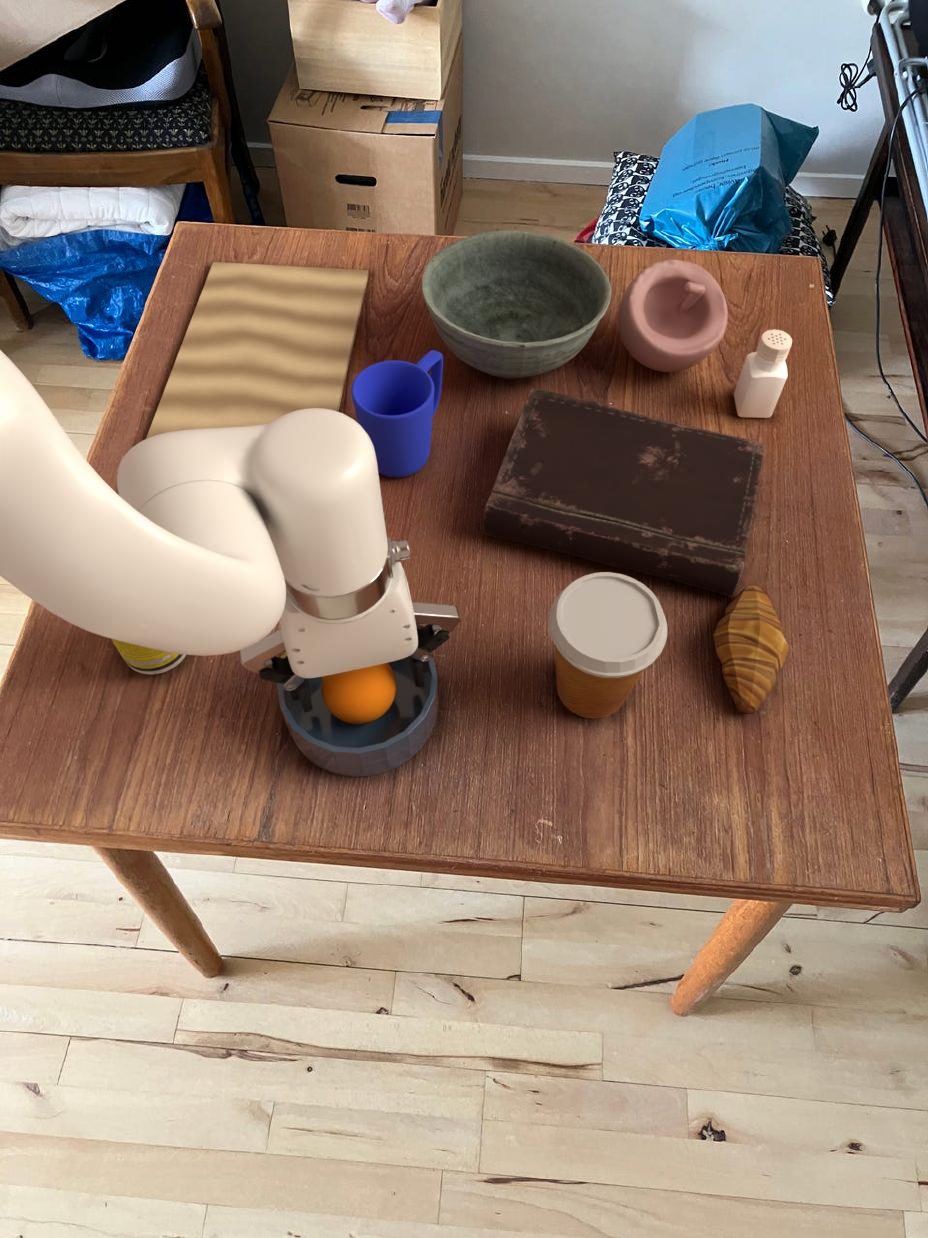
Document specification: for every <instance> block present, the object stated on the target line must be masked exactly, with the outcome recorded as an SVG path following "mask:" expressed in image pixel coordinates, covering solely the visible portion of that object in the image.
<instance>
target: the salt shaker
mask: <svg viewBox="0 0 928 1238" xmlns="http://www.w3.org/2000/svg"><path fill="white" fill-rule="evenodd" d="M792 344H793V339H792V337H791V335H790V334H789V333H787V332H785V331H784V330H780V329H776V328H775V329H767V330H766V331H764V332H763V333H762V334H761V336H760V340H759V341H758V345H757V348H756V351H754V352H750V353H748V354H747V355H746V357H745V359H744V363H743V366H742V369H741V372H740V374H739V377H738V379H737V383H736V387H735V389H734V392H733V398H734V403H735V409H736V414H737V416H738V417H740V418H753V419H755V418H756V419H768V418H771V417H772V416H773V414H774V412H775V409H776V406H777V404H778V401H779V398H780V396H781V394H782V391H783V389H784V386H785V385H786V381H787V379H788V374H789V373H788V367H787V363H786V360H787V358H788V356H789V353H790V350H791V347H792V346H793V345H792Z"/></svg>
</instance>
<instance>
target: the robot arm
mask: <svg viewBox="0 0 928 1238" xmlns="http://www.w3.org/2000/svg"><path fill="white" fill-rule="evenodd" d="M379 474H380V473H379V472H378V466H377V459H376V454H375V450H374V446H373V444H372V441H371V439H370V437H369V436H368V434H367V433H366V432H365V430H364V429H363V428H362V427H361V425H360V424H358V421H356V420H355V419H353V418H352V417H350V416H348V415H347V414H345V413H343V412H340V411H338V412H337V411H334V410H329V409H323V408H309V409H302V410H297V411H293V412H290V413H287V414H285V415H283V416H281V417H279V418H277V419H275V420H274V421H272V422H271V423H269V424H263V425H253V426H244V427H227V428H210V429H192V430H181V431H173V432H168V433H163V434H159V435H155V436H153V437H150V438H148V439H146V438H145V439H143V440H141V441H139V442H138V443H137V444H135V445H133V446H132V447H130V449H129V450H128V451H127V452H126V453H125V454H124V455H123V457H122V459H121V461H120V463H119V465H118V468H117V474H116V486H117V492H116V491H115V490H114V489H113V488H112V487H111V486H110V485H109V484H108V483H107V482H106V481H105V480H104V479H103V478H102V477H101V476H100V475H99V474H98V472H97V471H96V470H95V469H94V468H93V467H92V466H91V464H89V462H88V460H86V458H85V457H84V456H83V455H82V453H81V452H80V450H79V449H78V448H77V447H76V445H75V444H74V443H73V441H72V440H71V438H70V436H69V435H68V434H67V433H66V431H65V430H64V428H63V427H62V425H61V424H60V422H59V420H57V418H56V416H55V415H54V414H53V412H52V411H51V409H50V408H49V407H48V405H47V404H46V401H44V399H43V398H42V396H41V395H40V394H39V393H38V391H37V390H36V388H35V387H34V386H33V384H32V383H31V382H30V380H28V378H27V377H26V376H25V375H24V374H23V372H22V371H21V370H20V369H19V368H18V367H17V366H16V364H15V363H14V362H13V361H12V360H11V359H10V357H8V356H7V355H6V354H5V353H4V352H3V351H2V350H1V349H0V577H1V578H2V579H4V580H5V581H6V582H7V583H9V584H10V585H12V586H13V587H14V588H16V589H17V590H19V591H20V592H21V593H22V594H24V595H26V596H27V597H28V598H29V599H30V600H32V601H34V602H35V603H36V604H38V605H40V606H41V607H43V608H44V609H45V610H47V611H48V612H49V613H52V614H53V615H55V616H56V617H59V618H60V619H62V620H63V621H66V623H67V622H68V623H69V624H71V625H73V626H76V627H78V628H80V629H82V630H84V631H86V632H89V633H92V634H95V635H98V636H101V637H104V638H106V639H110V640H111V639H115V640H118V641H122V642H126V643H131V644H135V645H139V646H143V647H147V648H151V649H156V650H161V651H165V652H170V653H178V654H184V655H186V656H201V657H206V656H221V655H227V654H232V653H235V652H239V657H240V666H241V668H243V669H245V670H247V671H249V672H251V673H253V674H258V675H259V679H261V680H263V681H267V682H273V683H277V684H278V683H281V684H283V689H284V690H287V691H290V694H291V696H292V699H293V701H295V700H300V701H301V703H302V706H303V709H304V712H310V711H311V709H313V707H312V701H311V695H310V689H309V683H308V679H307V678H316V677H322V676H327V675H332V674H337V673H342V672H347V671H352V670H356V669H361V668H366V667H370V666H375V665H379V664H384V663H388V662H392V661H396V660H400V659H403V658H406V657H409V660H410V665H411V669H412V673H413V677H414V681H415V685H416V686H418V687H424V677H423V673H424V672H429V671H430V666H429V660H431V659H432V658H433V659H434V653H433V652H435V651H436V650H437V649H438V648H439V647H441V646H442V645H444V644H445V643H446V642H448V641H449V639H450V633H451V632H454V630H455V629H456V627H457V626H458V625H459V624H460V622H461V616H460V613H459V608H458V607H457V605H455V604H443V603H433V602H420V601H412V596H411V592H410V587H409V583H408V578H407V575H406V572H405V569H404V567H403V564H402V561H404V560H407V559H411V549H410V545H409V542H408V539H402V540H397V539H394V540H392V539H391V537H388V535H387V529H386V528H387V527H386V522H385V521H386V520H385V513H384V506H383V498H382V489H381V481H380V476H379ZM278 623H279V629H278V630H275V631H274V629H275V628H276V626H277V625H278ZM423 625H424V626H423ZM272 631H273V632H272ZM279 655H280V656H279Z"/></svg>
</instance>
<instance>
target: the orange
mask: <svg viewBox="0 0 928 1238" xmlns="http://www.w3.org/2000/svg"><path fill="white" fill-rule="evenodd" d="M321 692H322V697H323V700H324V702H325V705H326V706H327V708H328V709H329V710H330V712H331V713H332V714H333V715H334V716H336V717H337V718H339V719H340V720H342V721H344V722H347V723H352V724H365V723H369V722H372V721H374V720H376V719H378V718H380V717H381V716H382V715H383V714H385V713H386V711H387V710H388V709H389V708H390V706H391V704H392V702H393V700H394V697H395V693H396V680H395V676H394V673H393V671H392V669H391V667H390V665H389V664H388V663H384V664H379V665H375V666H370V667H366V668H361V669H356V670H352V671H347V672H342V673H337V674H332V675H327V676H323V677H322V682H321Z"/></svg>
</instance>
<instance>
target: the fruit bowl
mask: <svg viewBox="0 0 928 1238" xmlns="http://www.w3.org/2000/svg"><path fill="white" fill-rule="evenodd" d="M388 664H389V665H390V667H391V669H392V671H393V673H394V676H395V680H396V693H395V697H394V700H393V702H392V704H391V706H390V708H389V709H388V710H387V711H386V713H385V714H383V715H382V716H381V717H380V718H378V719H376V720H374V721H372V722H369V723H365V724H352V723H347V722H344V721H342V720H340V719H339V718H337V717H336V716H334V715H333V714H332V713H331V712H330V710H329V709H328V708H327V706H326V705H325V702H324V700H323V697H322V692H321V682H322V677H323V676H322V677H316V678H307V679H308V683H309V689H310V695H311V701H312V707H313V709H311V711H310V712H304V709H303V706H302V703H301V701H300V700H295V701H293V699H292V696H291V694H290V691H287V690H284V689H283V684H281V683H277V684H276V690H277V696H278V703H279V708H280V711H281V713H282V716H283V719H284V722H285V724H286V728H287V729H288V733H290V735H291V737H292V739H293V741H294V744H295V745H296V746H297V748H298V749H299V751H300V752H301V753H302V755H303V756H305V758H306V759H308V760H309V761H310V762H312V763H313V764H314V765H316V766H317V767H319V768H321V769H323V770H325V771H327V772H330V773H333V774H336V775H340V776H344V777H354V778H358V777H360V778H361V777H371V776H377V775H381V774H384V773H387V772H390V771H392V770H394V769H397V768H398V767H400V766H402V765H404V764H405V763H407V762H408V761H409V760H411V759H412V758H414V756H415V755H416V754H417V753H419V752H420V750H422V748H423V746H424V745H426V743H427V741H428V740H429V738H430V736H431V734H432V732H433V729H434V727H435V725H436V722H437V721H436V720H437V717H438V707H439V706H438V705H439V685H438V684H439V683H438V681H439V680H438V671H437V668H436V665H435V660H434V657H433V658H432V659H431V660H429V666H430V671H429V672H424V673H423V677H424V687H418V686H416V685H415V681H414V677H413V673H412V669H411V665H410V660H409V657H406V658H403V659H400V660H396V661H392V662H388Z"/></svg>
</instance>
